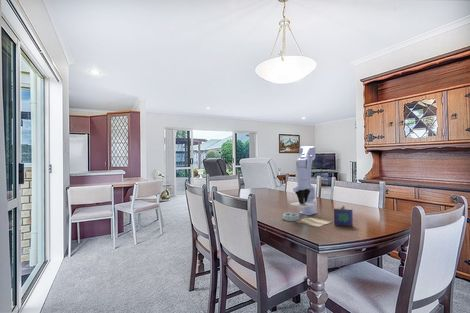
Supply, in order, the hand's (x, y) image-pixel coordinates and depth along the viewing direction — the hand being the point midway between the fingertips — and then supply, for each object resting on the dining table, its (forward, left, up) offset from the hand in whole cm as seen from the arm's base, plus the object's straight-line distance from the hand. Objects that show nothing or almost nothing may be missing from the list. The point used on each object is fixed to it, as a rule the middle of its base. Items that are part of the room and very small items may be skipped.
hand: (302, 202), depth 144 cm
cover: (0, 0, -1) cm, 1 cm away
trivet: (-2, +6, -10) cm, 12 cm away
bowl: (+2, -7, -10) cm, 13 cm away
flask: (-8, +20, -11) cm, 24 cm away
